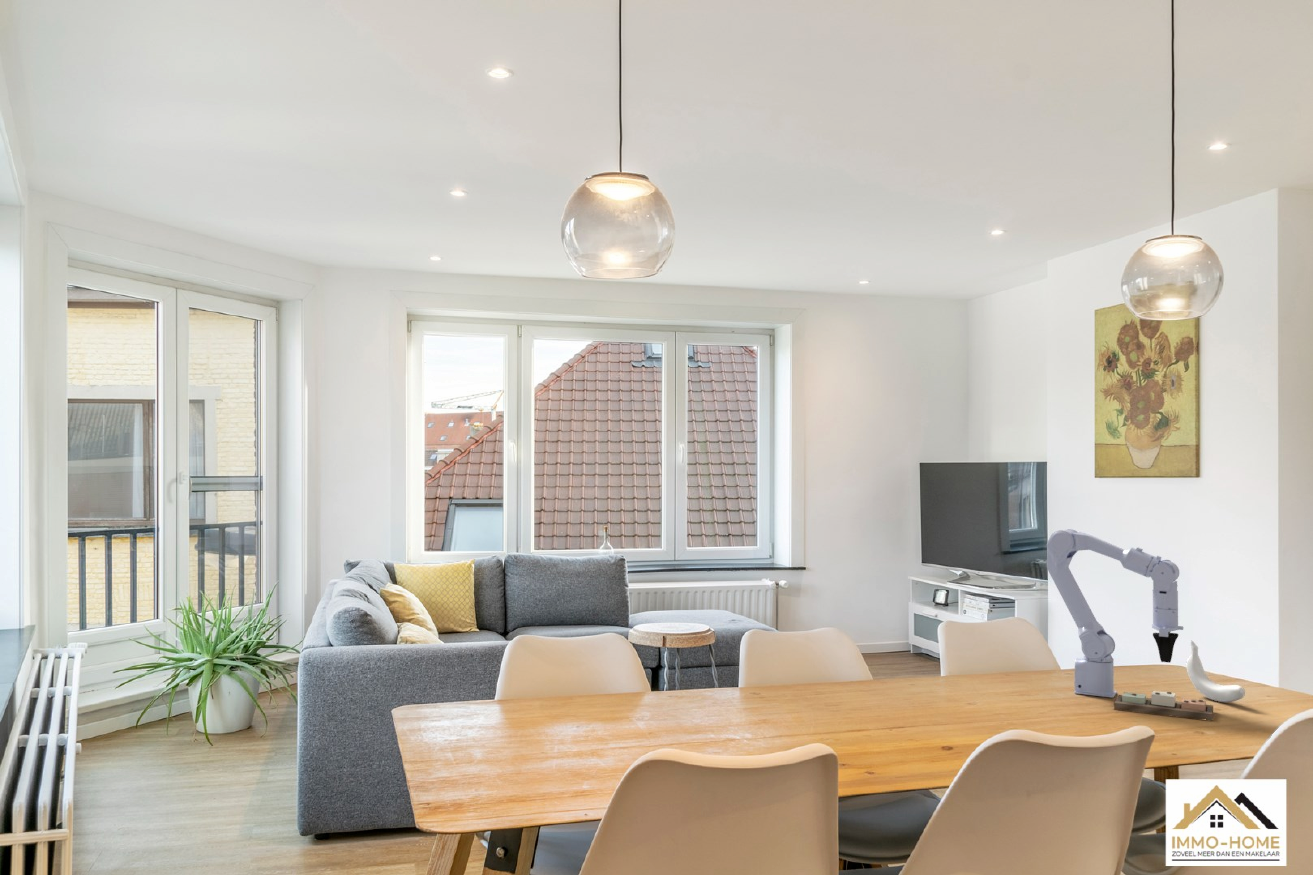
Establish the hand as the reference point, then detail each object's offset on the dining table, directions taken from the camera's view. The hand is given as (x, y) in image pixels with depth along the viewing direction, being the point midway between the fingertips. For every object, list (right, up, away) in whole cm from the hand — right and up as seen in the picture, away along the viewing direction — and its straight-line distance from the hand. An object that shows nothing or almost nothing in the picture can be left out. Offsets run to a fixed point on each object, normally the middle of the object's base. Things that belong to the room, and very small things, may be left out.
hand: (1165, 661), depth 249 cm
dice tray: (-5, -10, -9) cm, 14 cm away
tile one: (-11, -9, -6) cm, 15 cm away
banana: (+14, -11, +2) cm, 18 cm away
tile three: (0, -9, -12) cm, 15 cm away
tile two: (-5, -8, -9) cm, 13 cm away
